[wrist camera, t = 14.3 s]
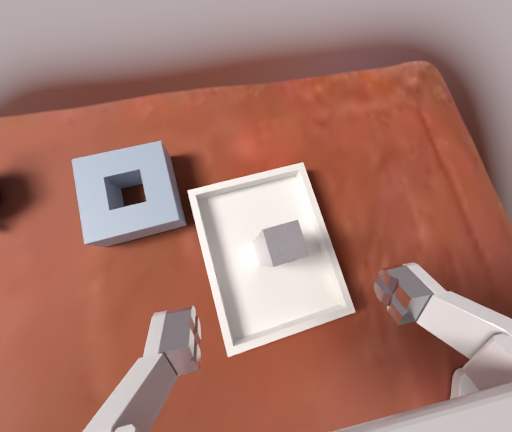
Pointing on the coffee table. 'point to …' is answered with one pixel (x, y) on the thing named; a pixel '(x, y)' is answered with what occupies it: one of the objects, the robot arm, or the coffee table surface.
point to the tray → (263, 277)
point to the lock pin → (280, 244)
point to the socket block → (111, 200)
